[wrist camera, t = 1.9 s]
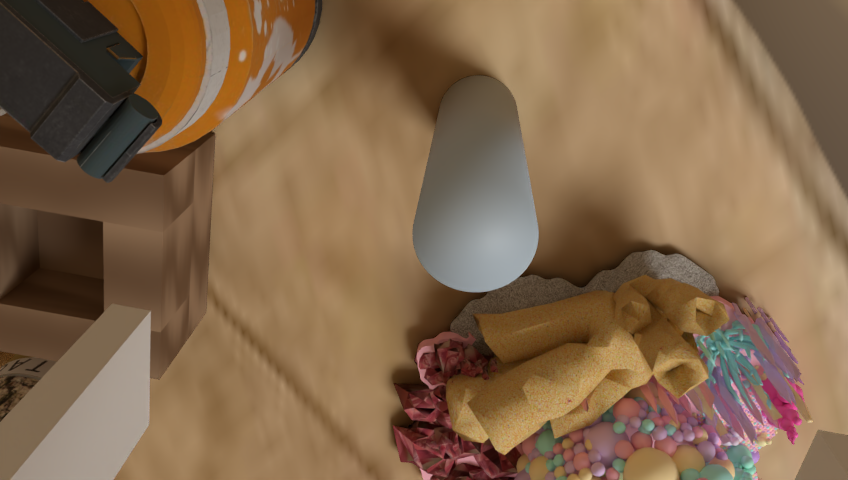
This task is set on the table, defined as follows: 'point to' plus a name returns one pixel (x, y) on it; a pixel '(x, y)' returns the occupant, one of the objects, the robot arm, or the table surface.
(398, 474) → the table surface
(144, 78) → the canister
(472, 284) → the dowel
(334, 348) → the table surface
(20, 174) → the hollow walnut box
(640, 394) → the candy landscape model
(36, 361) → the bark covered log
